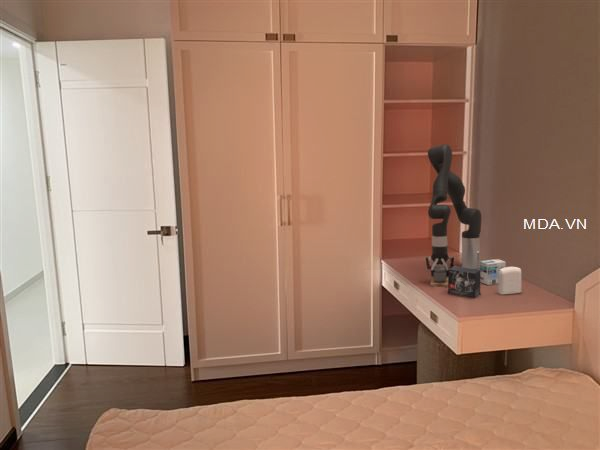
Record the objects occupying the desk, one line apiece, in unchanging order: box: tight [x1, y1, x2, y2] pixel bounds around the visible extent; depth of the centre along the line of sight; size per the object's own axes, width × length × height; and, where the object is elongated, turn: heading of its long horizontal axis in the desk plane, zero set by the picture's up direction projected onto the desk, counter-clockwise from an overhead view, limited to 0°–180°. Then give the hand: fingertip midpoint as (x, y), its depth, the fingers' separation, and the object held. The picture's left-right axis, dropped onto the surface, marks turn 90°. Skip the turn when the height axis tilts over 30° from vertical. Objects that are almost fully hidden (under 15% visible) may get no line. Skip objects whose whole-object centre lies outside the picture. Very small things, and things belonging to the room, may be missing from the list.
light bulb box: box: [479, 258, 507, 286], centre depth 238 cm, size 11×7×11 cm, turn 105°
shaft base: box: [429, 277, 448, 288], centre depth 241 cm, size 11×11×5 cm
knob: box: [433, 264, 446, 281], centre depth 240 cm, size 6×6×7 cm
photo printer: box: [497, 266, 522, 295], centre depth 220 cm, size 10×4×12 cm, turn 96°
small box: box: [447, 265, 481, 299], centre depth 222 cm, size 13×7×12 cm, turn 47°
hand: (439, 276), depth 241 cm, fingers closed on knob, 6 cm apart
